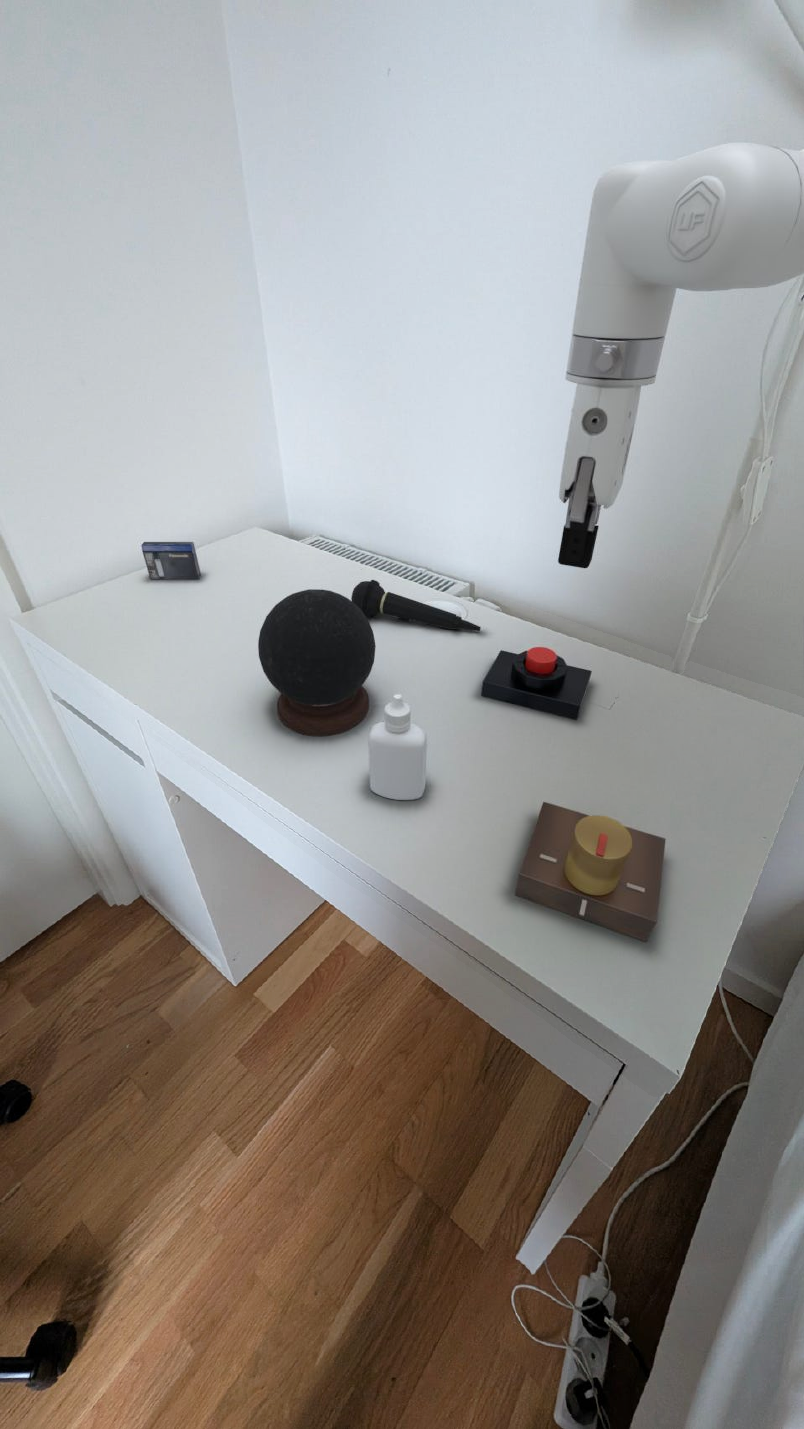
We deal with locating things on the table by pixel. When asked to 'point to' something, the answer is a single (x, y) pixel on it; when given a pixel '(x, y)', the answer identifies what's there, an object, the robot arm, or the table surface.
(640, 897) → the panel
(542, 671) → the button
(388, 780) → the eye dropper bottle
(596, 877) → the knob
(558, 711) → the button box
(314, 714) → the black ball on stand
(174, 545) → the mini dv tape
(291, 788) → the table surface
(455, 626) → the microphone
